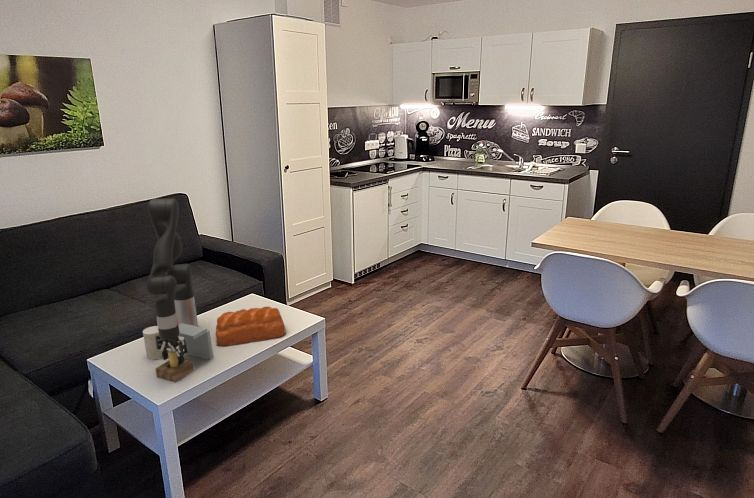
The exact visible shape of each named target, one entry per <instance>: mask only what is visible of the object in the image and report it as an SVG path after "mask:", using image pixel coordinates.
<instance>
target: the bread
mask: <svg viewBox="0 0 754 498" xmlns="http://www.w3.org/2000/svg"><path fill="white" fill-rule="evenodd" d="M285 335H286V326H285V323H284V320H283V317H282V315H281V313H280V310H279V308H277V307H271V306H263V307H254V308H252V307H251V308H249V309H246V308H243V309H240V310H236V311H227V312H224V313H222V314H221V315H220V316H218V317H217V318H216V325H215V338H216V339H215V343H216V345H218V346H220V347H221V346H222V347H225V346H226V347H227V346H234V345H241V344H247V343H252V342H259V341H261V342H262V341H265V340H271V339H272V340H273V339H276V338H280V337H283V336H285Z"/></svg>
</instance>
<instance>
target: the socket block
mask: <svg viewBox="0 0 754 498" xmlns="http://www.w3.org/2000/svg"><path fill="white" fill-rule="evenodd" d="M177 360H178V358H177ZM194 371H195V367H194V362H193V361H192V360H188V359H185V358H184V363H182V364H179V362H178V367H176V368H175V369H173V368H170V362H169V360H168V361H167V360H166V361H165V362H164V363H162V364H159V366H157V367H155V375H156V378H159V379H161V380H165V381H168V382H171V383H172V382H173V383H176V382H178V381H180V380H182V379H183V378H185V377H186V376H187V375H189V374H191V373H193V372H194Z"/></svg>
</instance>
